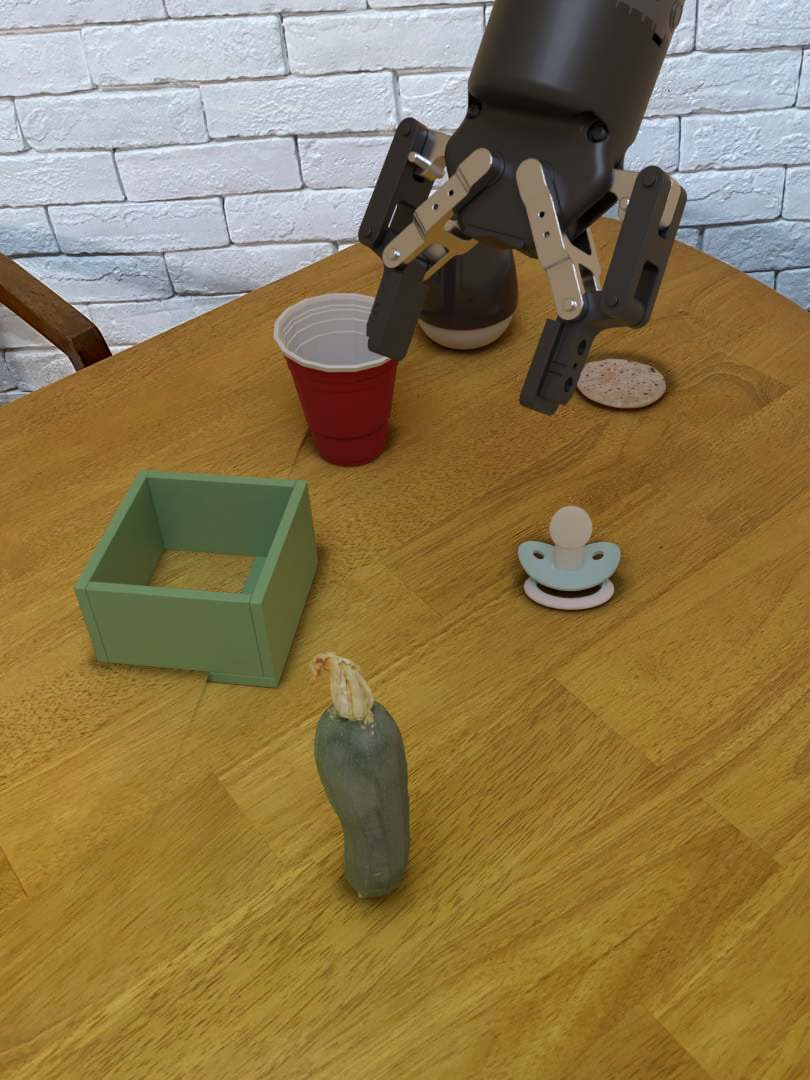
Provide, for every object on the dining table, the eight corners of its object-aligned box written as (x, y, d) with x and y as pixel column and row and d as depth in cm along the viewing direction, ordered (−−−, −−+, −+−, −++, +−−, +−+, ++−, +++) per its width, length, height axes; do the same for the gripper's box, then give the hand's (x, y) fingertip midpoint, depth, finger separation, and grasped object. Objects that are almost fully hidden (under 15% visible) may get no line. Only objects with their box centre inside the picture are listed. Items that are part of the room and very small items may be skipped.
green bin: (101, 671, 78) (72, 588, 73) (160, 551, 87) (139, 469, 82) (277, 688, 76) (261, 603, 71) (319, 563, 85) (307, 480, 80)
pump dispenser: (405, 314, 113) (396, 166, 103) (508, 304, 113) (509, 156, 103) (416, 369, 105) (407, 215, 95) (526, 357, 106) (529, 203, 96)
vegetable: (429, 882, 64) (413, 638, 51) (397, 947, 61) (371, 706, 48) (360, 856, 66) (326, 612, 53) (325, 918, 63) (281, 676, 50)
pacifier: (621, 616, 80) (616, 557, 84) (628, 552, 75) (623, 494, 80) (516, 614, 80) (517, 555, 85) (518, 550, 76) (518, 492, 80)
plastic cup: (372, 502, 91) (361, 375, 83) (265, 464, 95) (244, 340, 87) (440, 432, 97) (436, 308, 89) (337, 399, 102) (324, 279, 94)
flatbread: (682, 385, 101) (683, 375, 100) (632, 423, 97) (633, 413, 96) (607, 354, 105) (607, 345, 104) (556, 390, 101) (557, 380, 100)
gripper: (405, -43, 48) (288, 324, 51) (708, -16, 40) (551, 417, 43) (494, 33, 54) (385, 356, 57) (772, 70, 46) (631, 444, 49)
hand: (457, 382), depth 50 cm, fingers open, 8 cm apart
